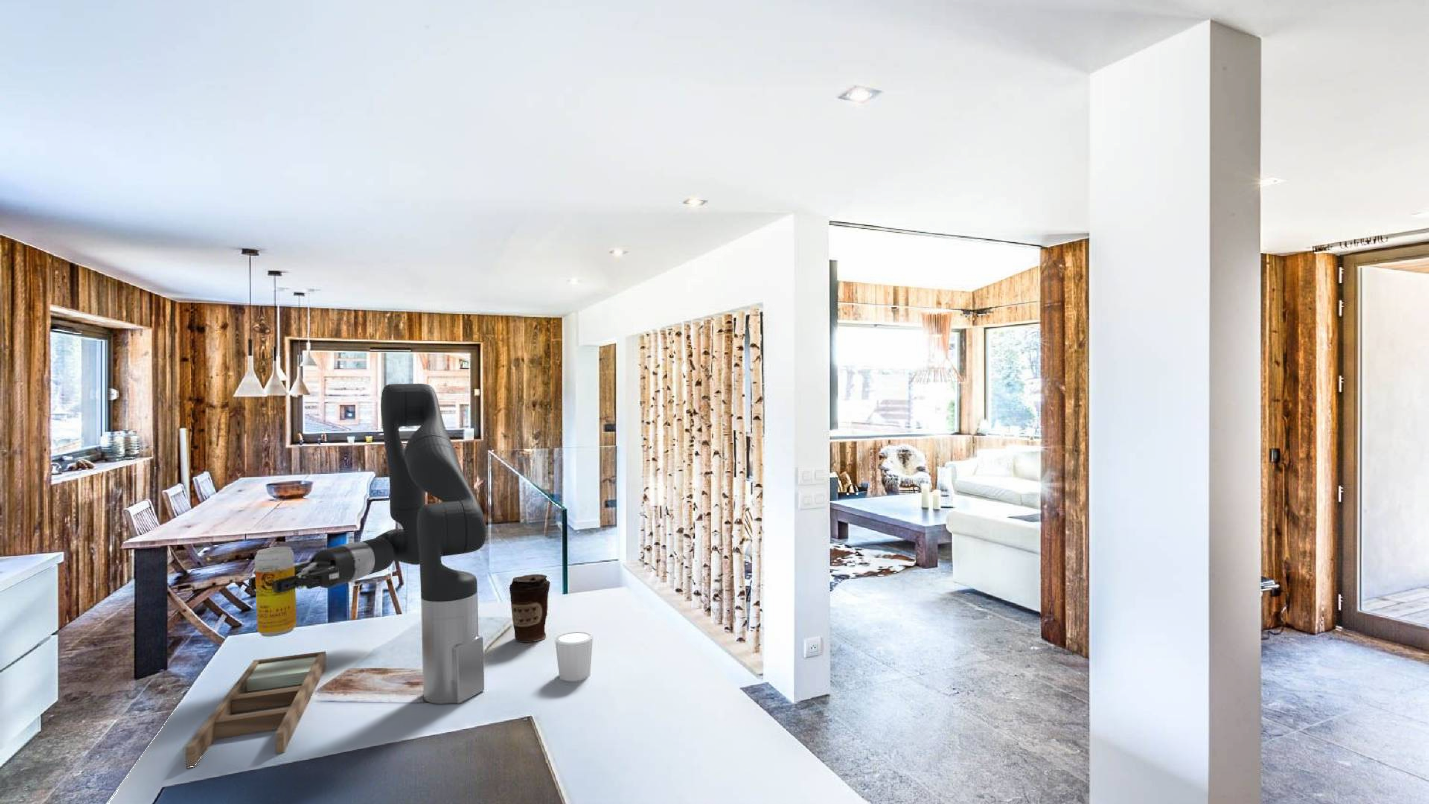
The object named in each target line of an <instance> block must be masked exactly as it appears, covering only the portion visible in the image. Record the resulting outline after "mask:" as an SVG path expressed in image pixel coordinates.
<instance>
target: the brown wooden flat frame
mask: <svg viewBox="0 0 1429 804" xmlns="http://www.w3.org/2000/svg"><path fill="white" fill-rule="evenodd" d="M326 653H327V651H326V650H325V651H317V652H310V653H309V652H308V653H301V654H300V653H299V654H294V655H283V656H277V657H270V658H261V659H253V660H252V662H251V664H249V666H248V667H247V668H246V669H245V671H244V672H243V673H242V674H241V676H240V677H239V678H238V680H237V681H236V682H235V684H234V685H233V686H232V687H231V689H229V691H228V693H227V694H226V695H225V696H224V698H223V699H222V700H221V702H220V703H219V704H218V706H216V708H215V709H214V711H213V712H212V713H211V714H210V716H209V717H208V718H207V720H205V722H204V723H203V725H202V726H201V727H200V728H199V730H198V731H197V732H196V733H195V735H193V737H192V739H191V740H190V741H189V742H188V743H187V745H186V746H185V762H186V763H185V766H186V767H190V766H195V764H196V763H197V762H198V760H199V759H200V757H201V756H202V755H203V754H204V752H205V751H206V750H207V751H208V749H209V748H210V747H211V746H212V744H213V743H214V741H215V740H216V739H217V738H218V739H224V738H229V737H236V736H241V735H242V736H243V735H251V734H257V733H263V732H271V731H274V730H276V732H275V754H276V755H278V754H284V753H285V751H286V749H287V747H288V746H289V743H290V741H291V740H292V737H293V735H294V733H295V731H296V729H297V727H298V725H299V723H300V720H301V719H302V717H303V715H304V712H305V711H306V709H307V706H308V704H309V703H310V701H311V698H312V697H311V696H313V695H314V693H313V692H315V690H316V689H317V687H318V684H319V682H320V680H321V678H322V676H323V674H324V672H325V671H326V669H327V654H326ZM312 694H313V695H312ZM214 739H215V740H214ZM213 740H214V741H213ZM211 743H212V744H211ZM209 746H210V747H209ZM208 747H209V748H208ZM207 748H208V749H207ZM207 751H206V752H207ZM206 752H205V753H206ZM204 755H205V754H204ZM204 755H203V756H204ZM203 756H202V757H203ZM200 760H201V759H200ZM198 763H199V762H198ZM198 763H197V764H198ZM195 767H196V766H195Z"/></svg>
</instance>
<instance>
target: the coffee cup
mask: <svg viewBox="0 0 1429 804" xmlns="http://www.w3.org/2000/svg"><path fill="white" fill-rule="evenodd" d="M547 578H548V576H547V575H545V574H538V573H537V574H536V573H535V574H525V575H522V576H516V577H513V578H512V581H511V584H510V585H509V594H510V595H509V596H510V606H511V619H512V623H513V624H512V626H513V630H514V639H515V641H516V642H520V643H521V642H522V643H531V642H537V641H540V640H544V639H545V638H546V637H547V634H546V630H545V628H546V620H547V617H548V615H549V614H548V609H549V607H548V606H549V593H550V587H551V582H550V581H549V580H548V579H547Z"/></svg>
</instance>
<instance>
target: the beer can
mask: <svg viewBox="0 0 1429 804" xmlns="http://www.w3.org/2000/svg"><path fill="white" fill-rule="evenodd" d="M294 565H295V552H294V551H293V549H292V547H291V546H286V545H285V546H272V547H266V548H263V549H262V548H261V549H259V550H257V551H256V555H255V557H254V573H255V575H254V577H255V580H256V590H255V598H256V600H255V601H256V625H257V633H259V634H260V636H261V637H265V638H266V637H267V638H268V637H269V638H271V637H278V636H282V635H286V634H289V633H291V632H293V631H294V629H295V628H296V626H297V599H296V595H297V593H296V588H295V589H292V590H288V591H285V592H281V593H275V592H274V581H276V580H279V579H284V578H288V577H291V576H295V567H294Z"/></svg>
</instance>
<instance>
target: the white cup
mask: <svg viewBox="0 0 1429 804" xmlns="http://www.w3.org/2000/svg"><path fill="white" fill-rule="evenodd" d="M593 638H594V636H593V634H592V633H589V632H586V631H570V632H566V633H565V632H564V633H562V634H560V635H558V636H556V637H555V639H554V642H555V644H554V645H555V650H556V659H557V660H556V661H557V668H558V670H557V671H558V677H559V679H560V680H561V681H565V682H579V681H582V680H585V679H588V678H589V677H590V676H591V669H592V656H593V655H592V654H593V653H592V652H593Z"/></svg>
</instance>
